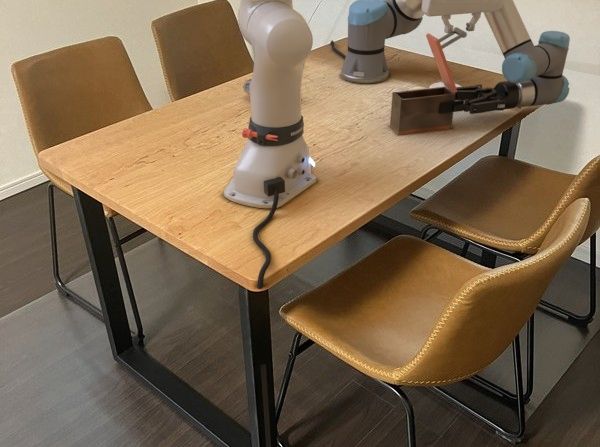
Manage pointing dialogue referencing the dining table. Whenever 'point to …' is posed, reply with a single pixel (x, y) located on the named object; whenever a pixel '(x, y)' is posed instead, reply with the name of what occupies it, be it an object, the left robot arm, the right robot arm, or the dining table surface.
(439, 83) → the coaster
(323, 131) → the dining table surface
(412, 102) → the chest
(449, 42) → the lid
